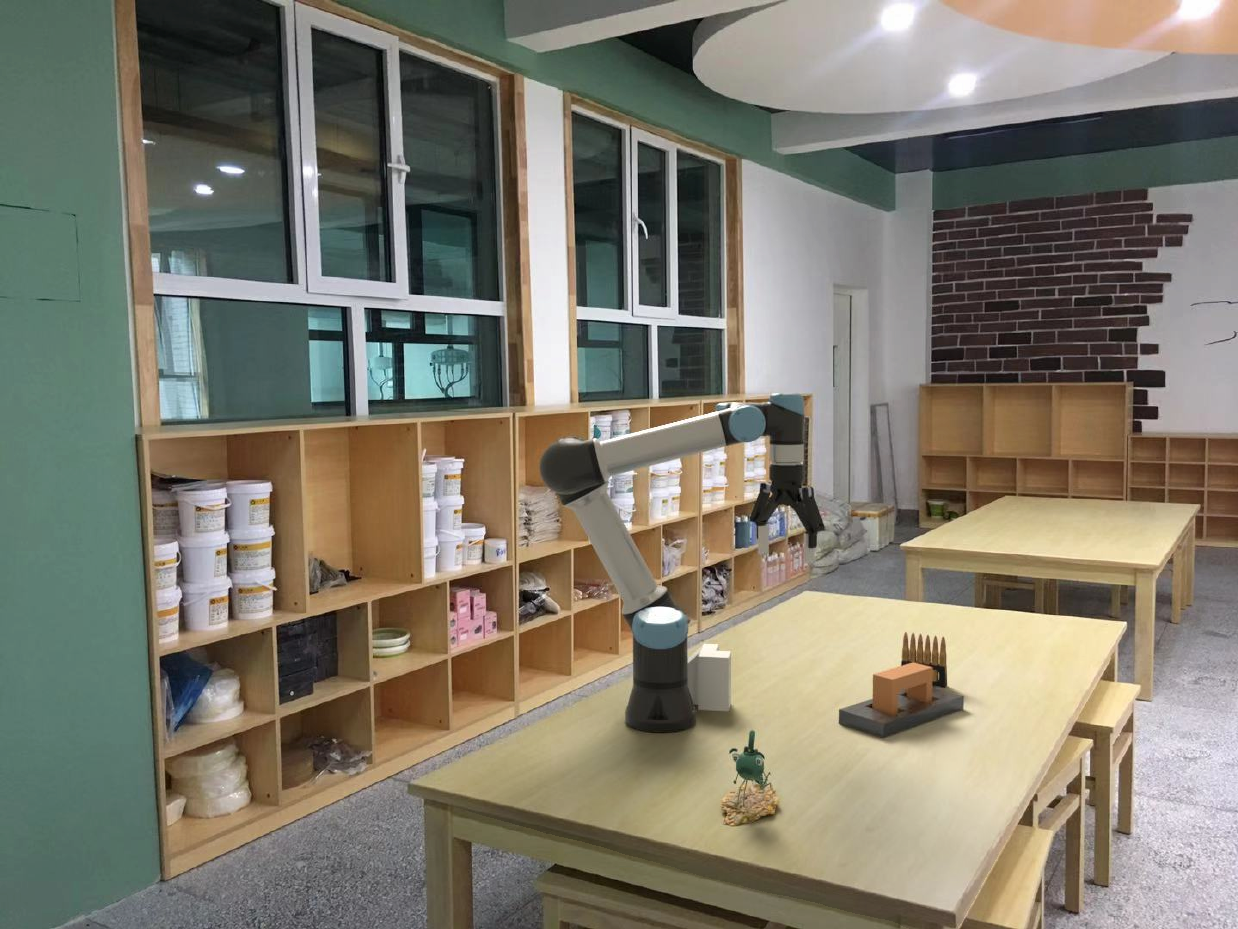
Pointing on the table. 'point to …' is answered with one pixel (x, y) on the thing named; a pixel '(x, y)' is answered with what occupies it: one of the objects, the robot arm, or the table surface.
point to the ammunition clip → (927, 657)
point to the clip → (901, 686)
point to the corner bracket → (710, 678)
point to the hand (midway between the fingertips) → (785, 558)
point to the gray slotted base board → (900, 713)
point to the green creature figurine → (749, 788)
